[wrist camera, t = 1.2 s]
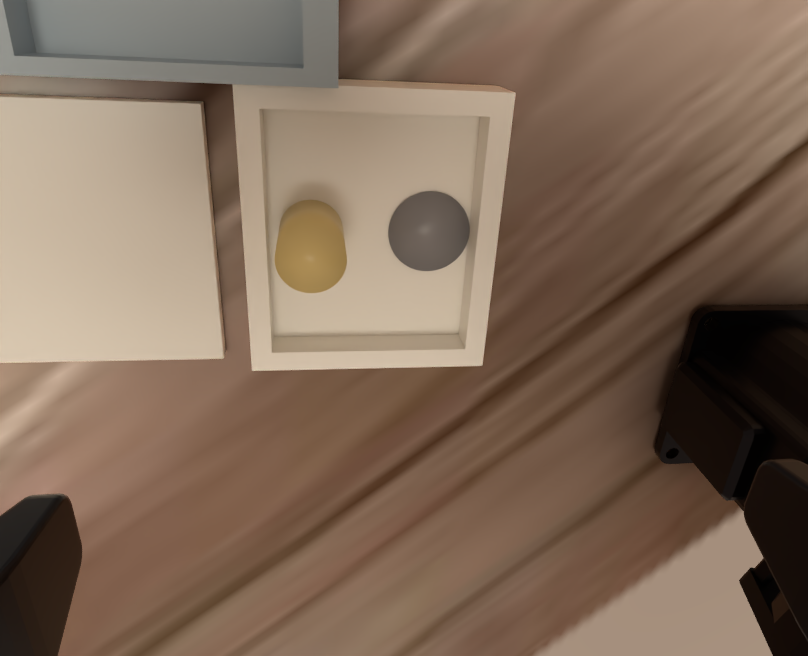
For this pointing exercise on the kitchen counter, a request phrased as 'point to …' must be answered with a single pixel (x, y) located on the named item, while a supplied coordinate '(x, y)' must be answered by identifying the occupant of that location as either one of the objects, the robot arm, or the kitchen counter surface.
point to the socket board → (173, 40)
